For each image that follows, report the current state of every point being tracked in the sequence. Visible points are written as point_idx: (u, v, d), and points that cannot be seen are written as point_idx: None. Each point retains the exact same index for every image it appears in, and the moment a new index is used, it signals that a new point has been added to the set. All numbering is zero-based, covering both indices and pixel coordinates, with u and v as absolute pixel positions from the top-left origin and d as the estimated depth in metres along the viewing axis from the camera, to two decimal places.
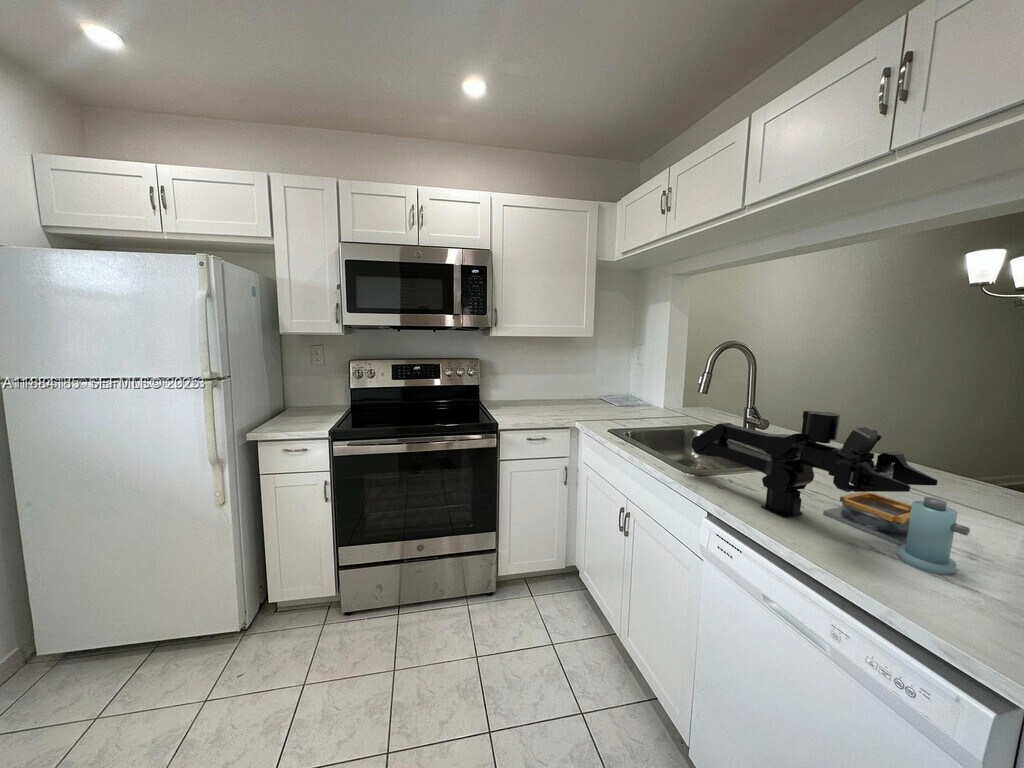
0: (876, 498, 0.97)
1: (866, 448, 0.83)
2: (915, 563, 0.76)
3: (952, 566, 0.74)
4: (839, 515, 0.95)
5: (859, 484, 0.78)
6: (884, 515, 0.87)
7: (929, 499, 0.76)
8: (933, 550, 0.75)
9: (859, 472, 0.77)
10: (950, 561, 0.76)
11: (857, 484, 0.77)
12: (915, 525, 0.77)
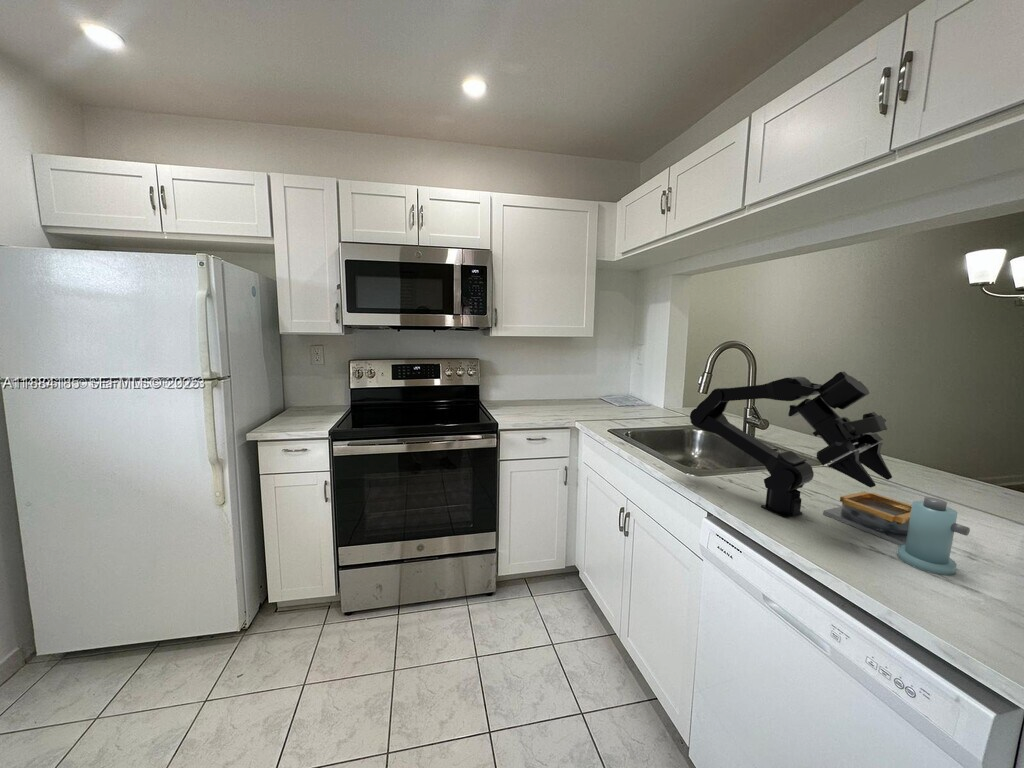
0: (876, 498, 0.97)
1: None
2: (915, 563, 0.76)
3: (952, 566, 0.74)
4: (839, 515, 0.95)
5: (837, 463, 0.83)
6: (884, 515, 0.87)
7: (929, 499, 0.76)
8: (933, 550, 0.75)
9: (847, 458, 0.81)
10: (950, 561, 0.76)
11: (836, 464, 0.83)
12: (915, 525, 0.77)
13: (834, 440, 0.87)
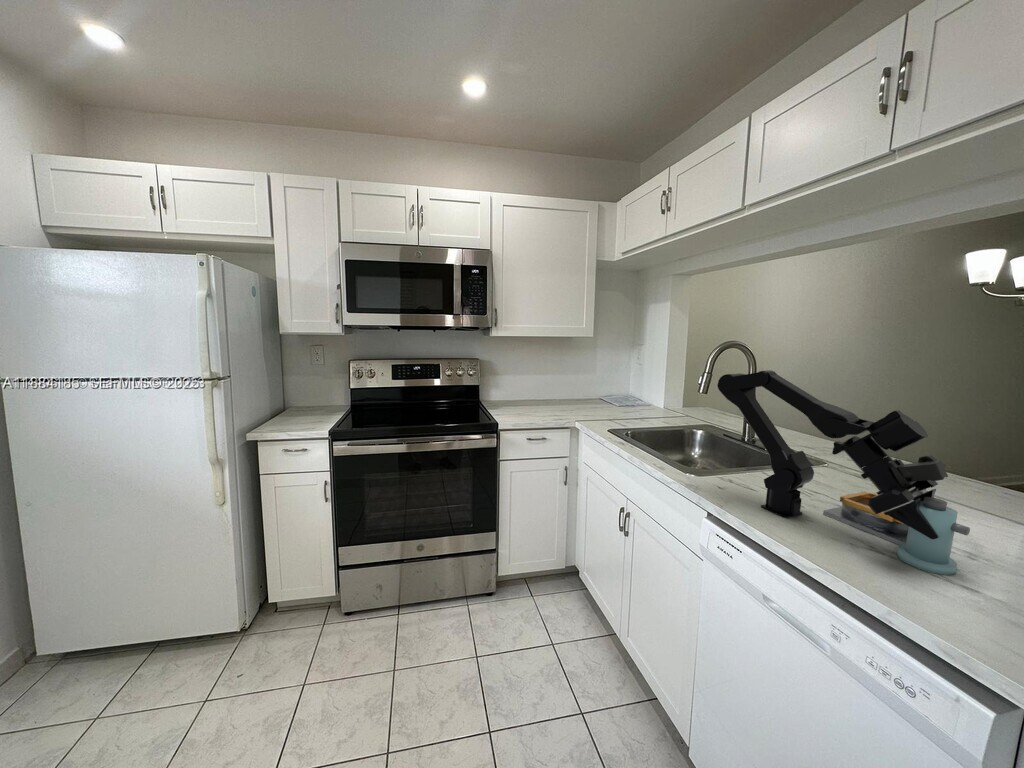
0: None
1: None
2: (915, 563, 0.76)
3: (952, 566, 0.74)
4: (839, 515, 0.95)
5: (894, 511, 0.77)
6: (884, 515, 0.87)
7: (929, 499, 0.76)
8: (933, 550, 0.75)
9: (907, 507, 0.75)
10: (950, 561, 0.76)
11: (894, 512, 0.76)
12: None
13: (886, 485, 0.80)
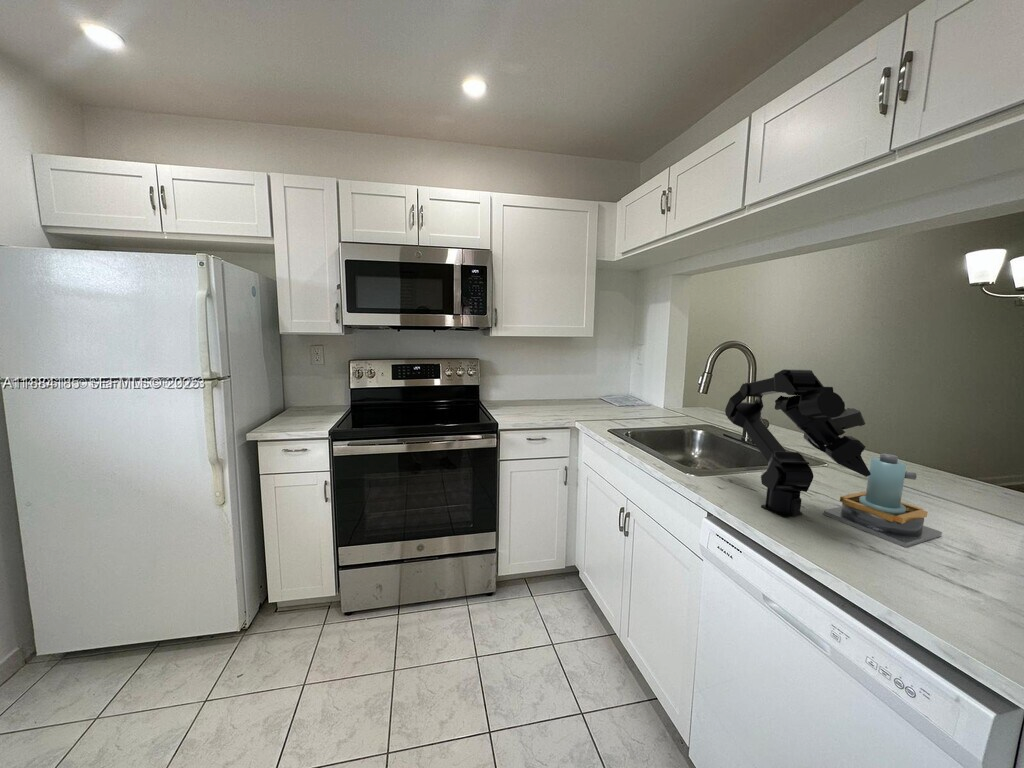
0: None
1: None
2: (888, 512, 0.89)
3: (904, 506, 0.90)
4: (839, 515, 0.95)
5: None
6: (884, 515, 0.87)
7: (886, 455, 0.91)
8: (897, 497, 0.89)
9: None
10: None
11: None
12: (882, 479, 0.90)
13: (826, 436, 0.91)
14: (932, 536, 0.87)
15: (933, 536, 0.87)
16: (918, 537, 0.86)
